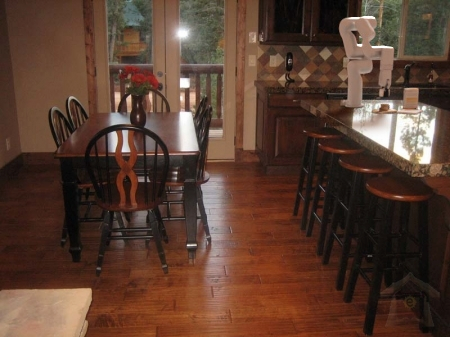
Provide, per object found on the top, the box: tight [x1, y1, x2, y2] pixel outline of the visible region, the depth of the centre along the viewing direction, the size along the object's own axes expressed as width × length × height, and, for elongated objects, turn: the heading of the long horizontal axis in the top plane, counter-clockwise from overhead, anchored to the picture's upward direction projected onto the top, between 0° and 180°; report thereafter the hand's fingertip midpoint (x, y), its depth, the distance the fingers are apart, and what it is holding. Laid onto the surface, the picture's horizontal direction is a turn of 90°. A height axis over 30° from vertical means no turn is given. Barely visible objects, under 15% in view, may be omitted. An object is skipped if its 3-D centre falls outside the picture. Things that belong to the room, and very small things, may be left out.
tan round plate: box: [371, 103, 398, 115], centre depth 293 cm, size 15×15×5 cm
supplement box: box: [402, 87, 420, 110], centre depth 301 cm, size 8×5×13 cm, turn 84°
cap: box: [378, 88, 391, 98], centre depth 291 cm, size 6×6×5 cm
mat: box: [396, 108, 424, 115], centre depth 288 cm, size 12×12×1 cm
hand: (384, 96), depth 292 cm, fingers closed on cap, 6 cm apart
